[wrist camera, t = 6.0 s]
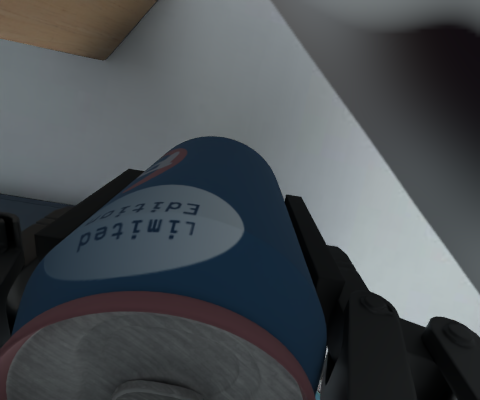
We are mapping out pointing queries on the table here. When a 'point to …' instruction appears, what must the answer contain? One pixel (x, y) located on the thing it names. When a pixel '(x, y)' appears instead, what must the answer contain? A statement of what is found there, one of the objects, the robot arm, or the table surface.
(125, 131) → the table surface
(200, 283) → the soda can
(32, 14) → the wooden block
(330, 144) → the table surface
